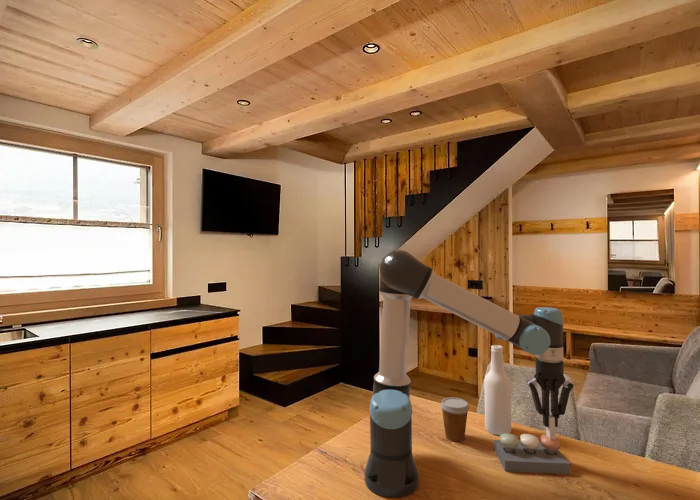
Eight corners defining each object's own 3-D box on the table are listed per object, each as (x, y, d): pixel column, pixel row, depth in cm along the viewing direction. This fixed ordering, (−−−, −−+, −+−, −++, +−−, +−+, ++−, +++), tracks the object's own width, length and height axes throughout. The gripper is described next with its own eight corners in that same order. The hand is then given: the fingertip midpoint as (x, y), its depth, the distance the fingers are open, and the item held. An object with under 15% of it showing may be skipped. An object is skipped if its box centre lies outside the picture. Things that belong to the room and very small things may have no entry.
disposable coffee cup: (471, 445, 124) (470, 409, 124) (441, 442, 126) (440, 407, 126) (467, 431, 133) (467, 397, 133) (440, 429, 135) (439, 396, 135)
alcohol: (514, 428, 135) (513, 345, 135) (508, 439, 128) (507, 350, 128) (488, 422, 140) (487, 341, 140) (481, 431, 133) (480, 347, 133)
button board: (505, 471, 109) (505, 460, 109) (493, 449, 121) (493, 439, 121) (570, 474, 108) (570, 463, 108) (552, 451, 120) (552, 442, 120)
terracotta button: (545, 459, 112) (544, 442, 112) (538, 450, 117) (538, 434, 117) (562, 460, 111) (562, 443, 111) (555, 451, 116) (555, 434, 116)
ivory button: (524, 458, 112) (523, 441, 112) (518, 449, 117) (518, 433, 117) (541, 459, 112) (541, 442, 112) (535, 450, 117) (534, 434, 117)
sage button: (503, 457, 113) (503, 441, 113) (498, 448, 118) (498, 432, 118) (520, 458, 112) (520, 441, 112) (514, 449, 117) (514, 433, 117)
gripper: (531, 362, 111) (532, 442, 111) (578, 363, 109) (579, 444, 109) (522, 355, 118) (523, 430, 118) (566, 355, 117) (567, 431, 117)
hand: (550, 436), depth 114 cm, fingers closed
